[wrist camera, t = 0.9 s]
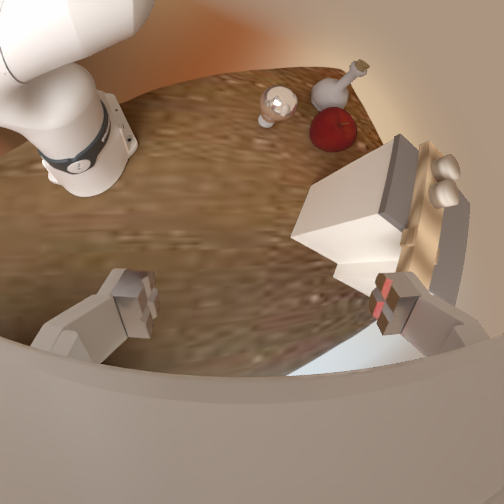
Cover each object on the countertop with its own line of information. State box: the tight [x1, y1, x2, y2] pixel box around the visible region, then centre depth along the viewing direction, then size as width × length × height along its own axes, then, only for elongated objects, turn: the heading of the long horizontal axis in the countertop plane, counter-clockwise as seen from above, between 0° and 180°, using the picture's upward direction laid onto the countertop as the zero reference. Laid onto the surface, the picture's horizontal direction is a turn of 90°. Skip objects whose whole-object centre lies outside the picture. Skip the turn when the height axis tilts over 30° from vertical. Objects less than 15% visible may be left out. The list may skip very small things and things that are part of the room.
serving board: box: [396, 141, 460, 290], centre depth 26 cm, size 22×6×5 cm, turn 155°
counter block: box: [291, 134, 470, 307], centre depth 43 cm, size 20×24×26 cm
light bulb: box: [258, 85, 298, 128], centre depth 46 cm, size 7×7×12 cm
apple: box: [310, 107, 357, 152], centre depth 51 cm, size 10×10×10 cm
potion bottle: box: [311, 60, 370, 111], centre depth 48 cm, size 9×9×18 cm
